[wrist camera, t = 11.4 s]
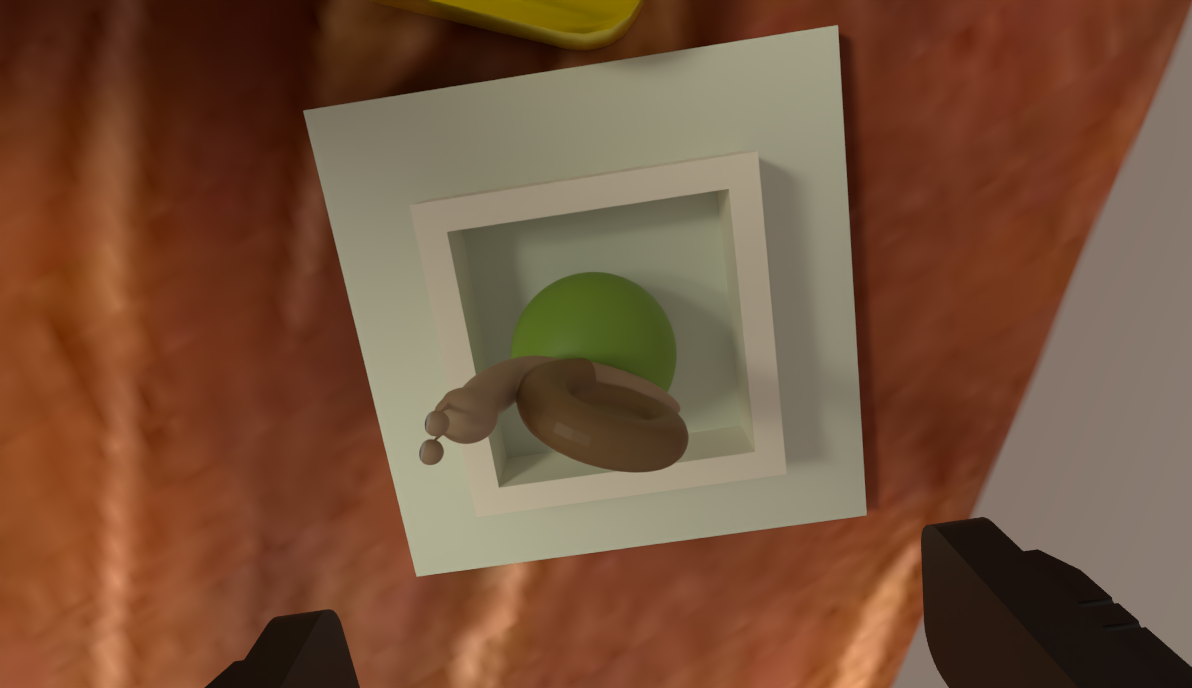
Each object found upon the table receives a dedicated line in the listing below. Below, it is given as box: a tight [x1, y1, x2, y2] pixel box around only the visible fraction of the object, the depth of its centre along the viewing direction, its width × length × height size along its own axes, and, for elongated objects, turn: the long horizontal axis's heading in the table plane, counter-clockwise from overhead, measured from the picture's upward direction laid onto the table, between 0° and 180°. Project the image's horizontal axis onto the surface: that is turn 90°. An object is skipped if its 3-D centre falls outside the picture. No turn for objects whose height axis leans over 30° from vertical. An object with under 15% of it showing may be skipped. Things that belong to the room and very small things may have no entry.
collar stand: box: [303, 25, 867, 576], centre depth 26 cm, size 18×18×4 cm
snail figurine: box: [419, 272, 689, 473], centre depth 21 cm, size 5×6×12 cm
